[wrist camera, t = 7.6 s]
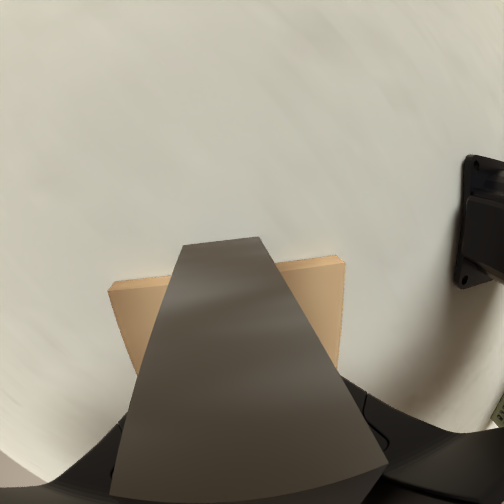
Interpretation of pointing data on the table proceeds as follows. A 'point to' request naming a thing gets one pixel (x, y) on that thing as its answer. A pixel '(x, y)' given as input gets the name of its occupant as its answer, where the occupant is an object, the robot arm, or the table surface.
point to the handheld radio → (499, 413)
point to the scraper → (240, 384)
